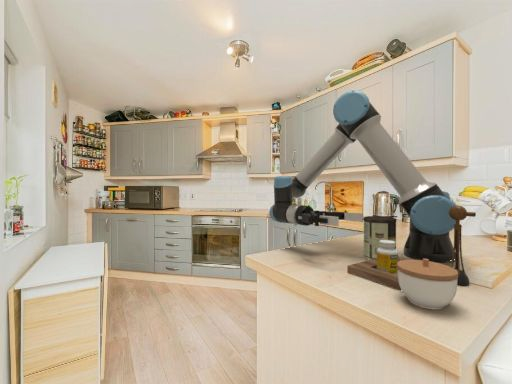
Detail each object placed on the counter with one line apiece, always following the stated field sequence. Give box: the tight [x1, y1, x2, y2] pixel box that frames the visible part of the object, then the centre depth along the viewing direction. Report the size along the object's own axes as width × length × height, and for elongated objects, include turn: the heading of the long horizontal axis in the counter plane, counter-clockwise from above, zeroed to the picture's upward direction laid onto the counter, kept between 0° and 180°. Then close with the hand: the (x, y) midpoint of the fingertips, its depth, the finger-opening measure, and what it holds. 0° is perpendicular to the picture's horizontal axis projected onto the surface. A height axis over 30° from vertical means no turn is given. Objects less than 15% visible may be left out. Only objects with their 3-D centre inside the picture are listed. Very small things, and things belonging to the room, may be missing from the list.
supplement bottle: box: [377, 240, 399, 274], centre depth 68 cm, size 5×5×10 cm
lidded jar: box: [397, 259, 458, 311], centre depth 52 cm, size 11×11×9 cm
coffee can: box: [363, 216, 397, 260], centre depth 85 cm, size 10×10×14 cm
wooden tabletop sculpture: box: [449, 204, 477, 287], centre depth 62 cm, size 6×5×20 cm
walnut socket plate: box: [346, 258, 402, 292], centre depth 68 cm, size 15×15×2 cm
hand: (350, 219), depth 77 cm, fingers open, 13 cm apart
